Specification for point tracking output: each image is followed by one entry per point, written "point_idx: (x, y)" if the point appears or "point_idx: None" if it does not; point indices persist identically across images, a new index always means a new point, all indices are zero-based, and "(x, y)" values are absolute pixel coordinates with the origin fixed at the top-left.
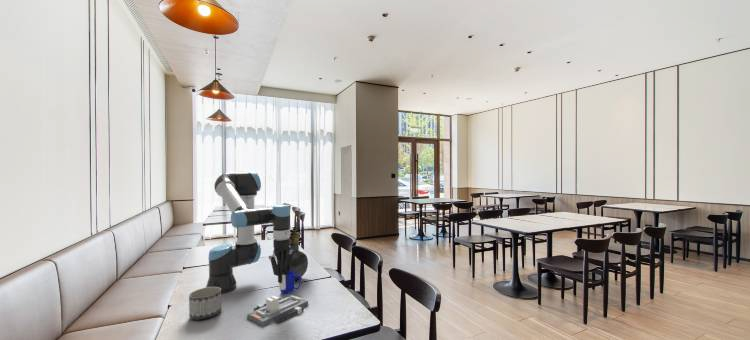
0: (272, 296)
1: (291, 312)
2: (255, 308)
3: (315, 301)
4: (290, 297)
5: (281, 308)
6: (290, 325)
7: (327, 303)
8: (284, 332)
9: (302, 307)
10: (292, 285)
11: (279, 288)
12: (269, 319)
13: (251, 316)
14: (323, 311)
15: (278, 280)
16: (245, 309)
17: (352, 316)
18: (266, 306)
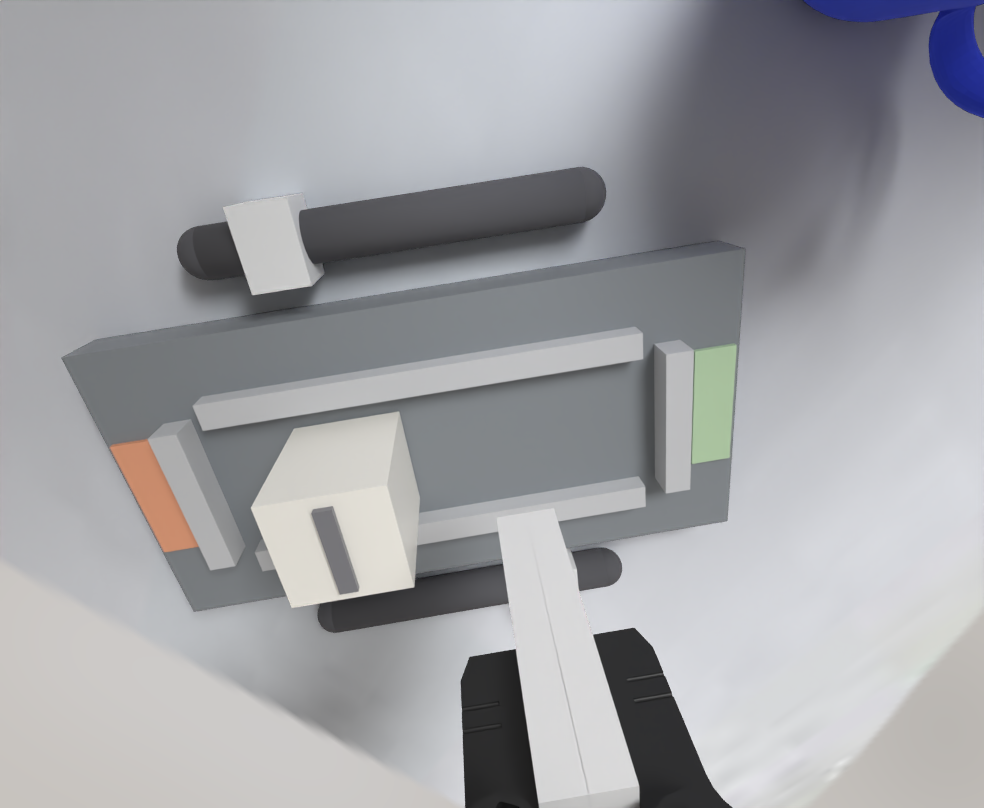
0: (359, 496)
1: (478, 606)
2: (194, 265)
3: (799, 478)
4: (677, 308)
5: (424, 543)
6: (399, 678)
7: (817, 574)
8: (325, 722)
9: (602, 586)
10: (970, 5)
11: (497, 519)
12: (267, 593)
13: (109, 441)
14: (691, 654)
15: (465, 717)
16: (101, 40)
17: (742, 785)
18: (283, 454)
